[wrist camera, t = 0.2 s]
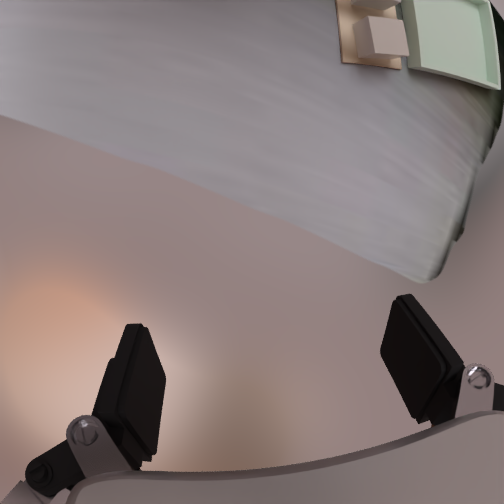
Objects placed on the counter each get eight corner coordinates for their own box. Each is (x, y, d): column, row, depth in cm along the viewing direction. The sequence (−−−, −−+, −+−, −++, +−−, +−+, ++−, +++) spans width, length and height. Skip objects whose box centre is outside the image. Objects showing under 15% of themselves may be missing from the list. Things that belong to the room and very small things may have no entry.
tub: (394, -29, 25) (405, -36, 22) (476, 3, 25) (489, 1, 22) (407, 67, 33) (421, 66, 29) (487, 88, 33) (500, 90, 30)
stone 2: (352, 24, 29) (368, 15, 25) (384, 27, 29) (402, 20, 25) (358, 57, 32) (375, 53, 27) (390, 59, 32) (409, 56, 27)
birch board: (330, -31, 25) (332, -32, 25) (388, -19, 26) (390, -20, 25) (341, 62, 32) (343, 61, 32) (399, 69, 33) (401, 69, 32)
